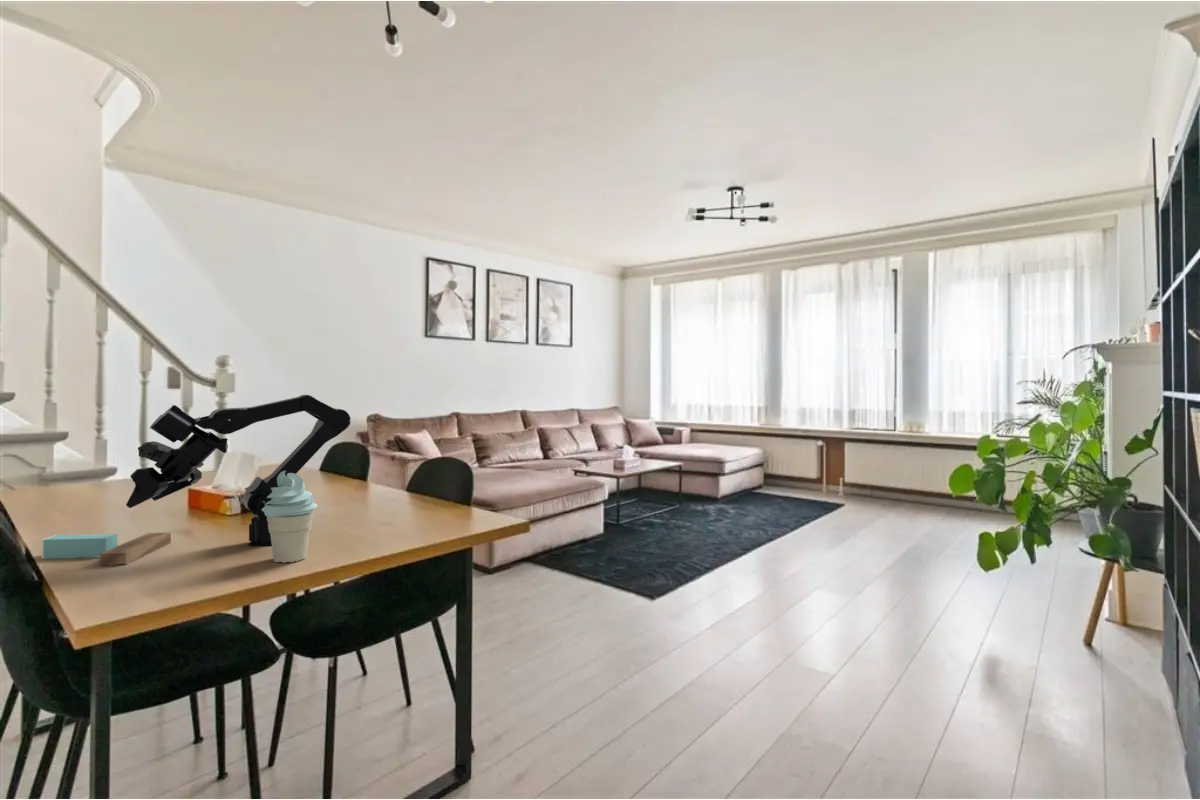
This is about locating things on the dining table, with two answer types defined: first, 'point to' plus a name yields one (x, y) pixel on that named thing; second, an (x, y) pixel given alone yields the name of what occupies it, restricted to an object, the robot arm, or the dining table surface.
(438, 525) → the dining table surface
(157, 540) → the walnut strip
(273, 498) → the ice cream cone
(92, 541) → the teal block
